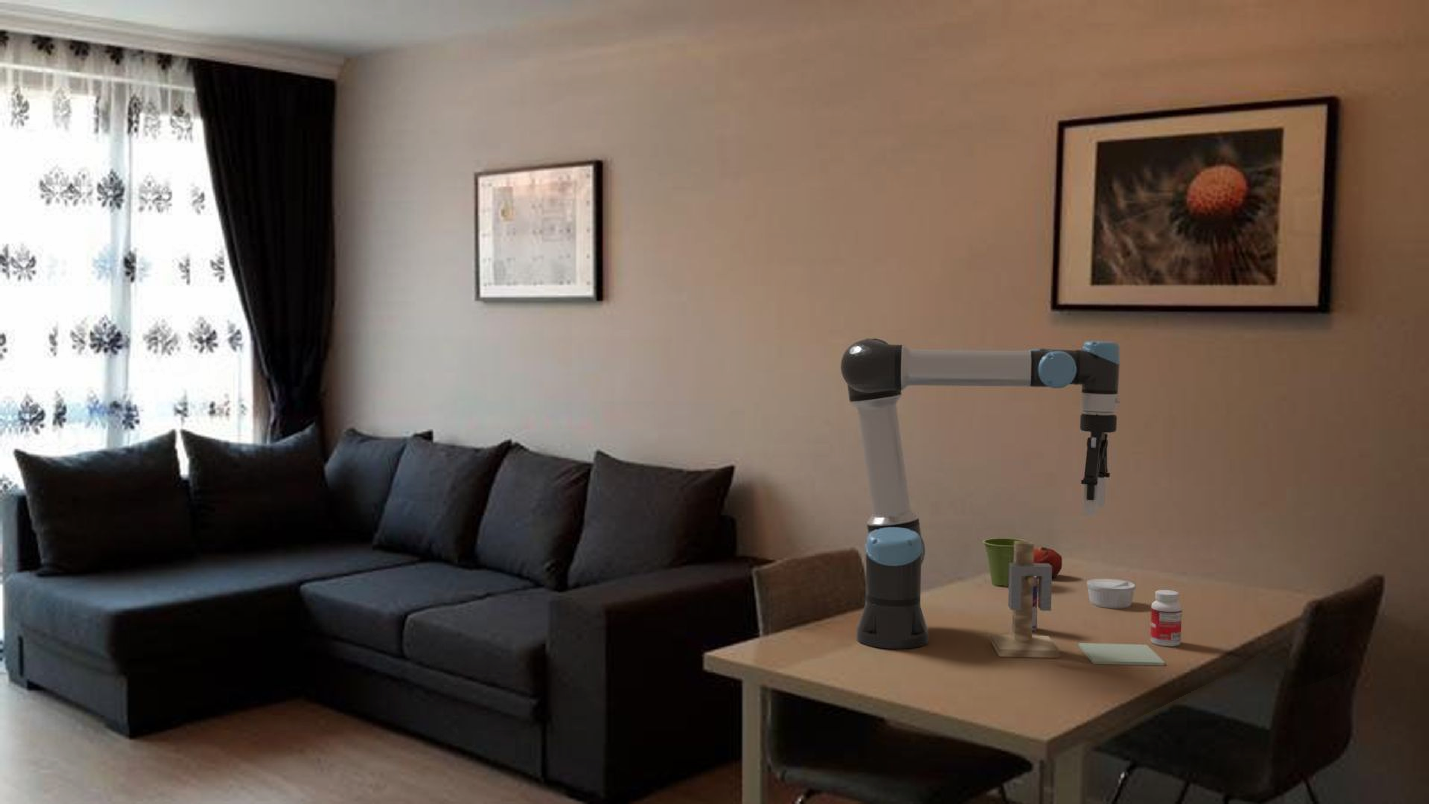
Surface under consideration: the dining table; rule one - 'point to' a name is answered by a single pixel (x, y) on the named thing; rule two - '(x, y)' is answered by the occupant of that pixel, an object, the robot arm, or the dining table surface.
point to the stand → (1024, 618)
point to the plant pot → (1000, 558)
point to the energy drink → (1034, 612)
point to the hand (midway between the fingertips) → (1094, 511)
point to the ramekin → (1110, 593)
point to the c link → (1043, 584)
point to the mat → (1121, 654)
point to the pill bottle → (1166, 619)
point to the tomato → (1048, 558)
